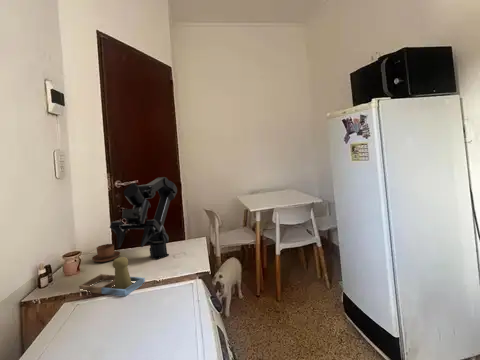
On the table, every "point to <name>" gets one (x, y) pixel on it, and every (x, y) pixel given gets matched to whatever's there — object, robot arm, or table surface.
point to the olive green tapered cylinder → (121, 273)
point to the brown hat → (105, 253)
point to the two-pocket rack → (107, 287)
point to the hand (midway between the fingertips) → (130, 246)
